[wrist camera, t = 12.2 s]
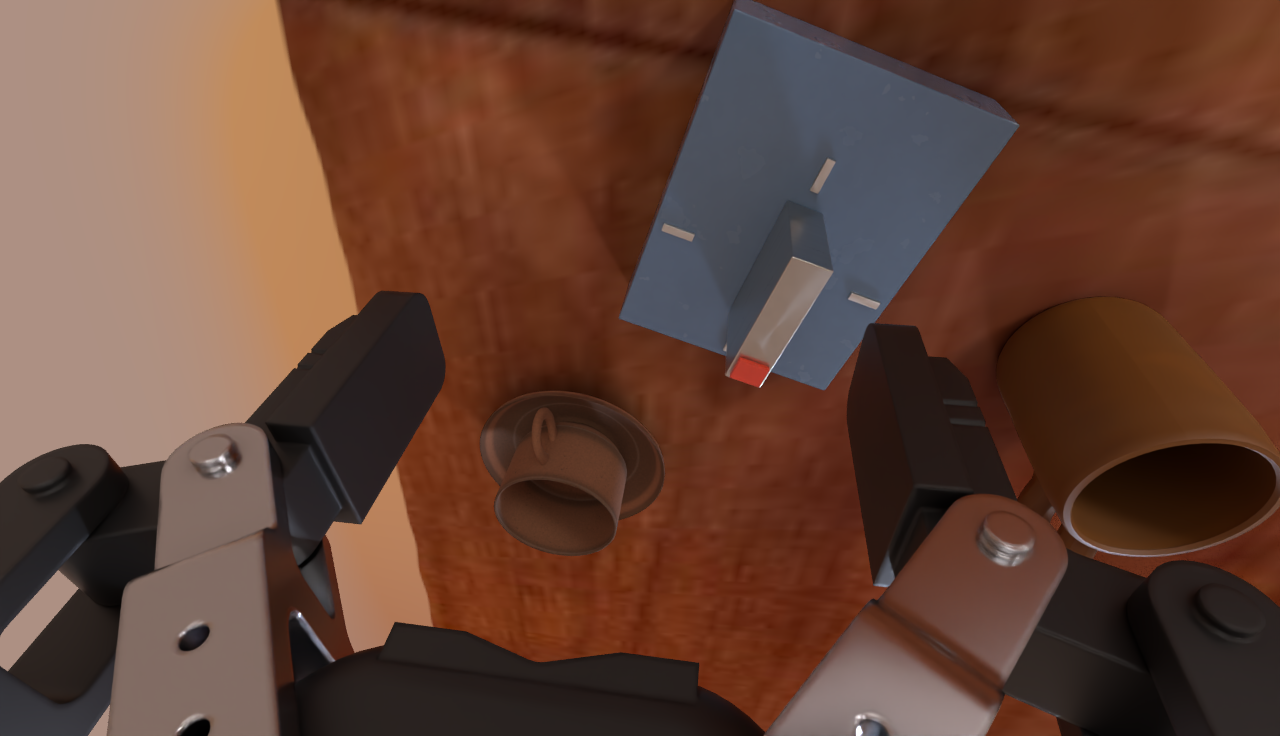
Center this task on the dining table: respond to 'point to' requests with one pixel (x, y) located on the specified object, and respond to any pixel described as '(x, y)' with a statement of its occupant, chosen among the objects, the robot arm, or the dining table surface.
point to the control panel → (808, 182)
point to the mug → (1132, 433)
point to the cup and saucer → (568, 469)
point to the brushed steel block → (777, 293)
